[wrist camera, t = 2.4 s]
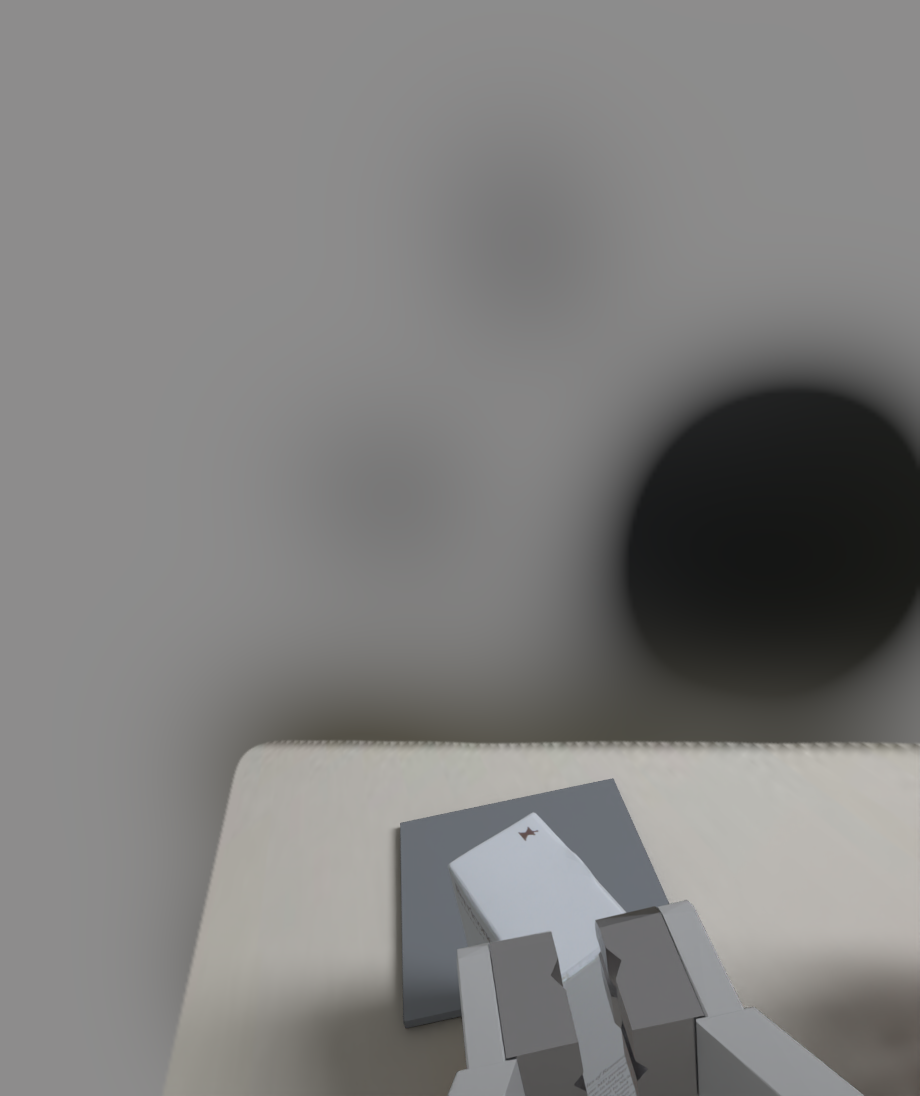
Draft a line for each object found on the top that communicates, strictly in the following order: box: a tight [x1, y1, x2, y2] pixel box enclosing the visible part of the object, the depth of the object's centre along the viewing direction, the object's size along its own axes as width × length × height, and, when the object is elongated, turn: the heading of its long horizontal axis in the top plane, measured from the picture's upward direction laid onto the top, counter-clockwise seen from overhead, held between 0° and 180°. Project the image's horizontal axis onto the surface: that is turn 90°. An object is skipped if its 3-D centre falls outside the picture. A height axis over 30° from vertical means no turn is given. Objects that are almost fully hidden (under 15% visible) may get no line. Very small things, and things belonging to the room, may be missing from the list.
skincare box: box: [448, 812, 637, 1096], centre depth 25 cm, size 6×4×12 cm
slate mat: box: [400, 778, 669, 1028], centre depth 36 cm, size 14×12×1 cm
